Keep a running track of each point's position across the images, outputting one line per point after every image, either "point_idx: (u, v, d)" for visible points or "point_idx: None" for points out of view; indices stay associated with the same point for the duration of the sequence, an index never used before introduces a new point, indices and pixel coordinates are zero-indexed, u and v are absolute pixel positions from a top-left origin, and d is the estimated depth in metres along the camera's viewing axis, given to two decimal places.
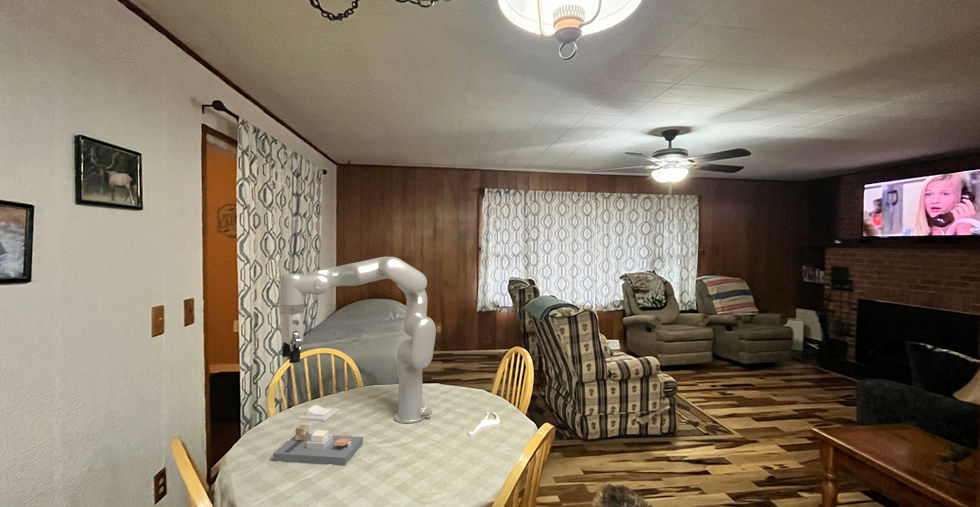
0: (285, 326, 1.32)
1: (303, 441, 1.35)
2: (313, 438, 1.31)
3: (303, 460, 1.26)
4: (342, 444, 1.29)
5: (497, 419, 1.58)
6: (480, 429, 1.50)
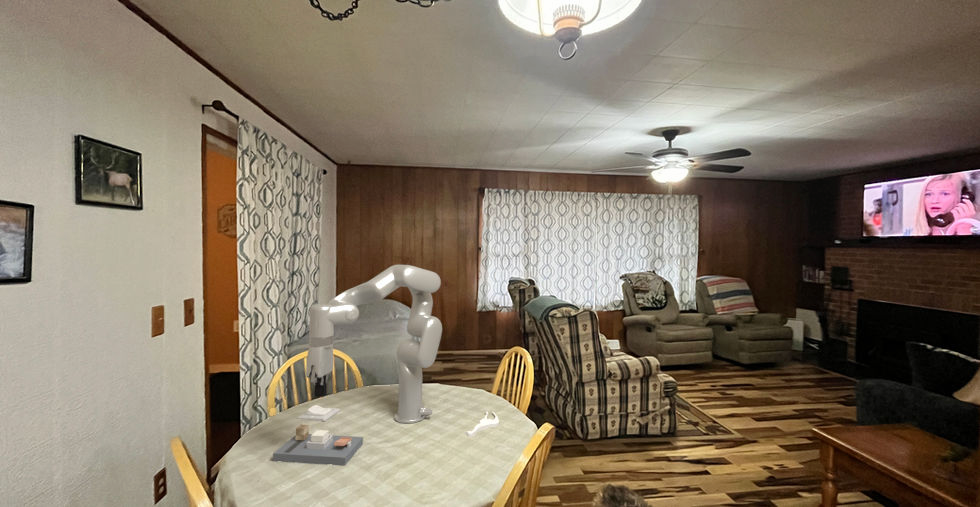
0: (331, 355, 1.34)
1: (303, 441, 1.35)
2: (313, 438, 1.31)
3: (303, 460, 1.26)
4: (342, 444, 1.29)
5: (496, 419, 1.58)
6: (479, 429, 1.50)
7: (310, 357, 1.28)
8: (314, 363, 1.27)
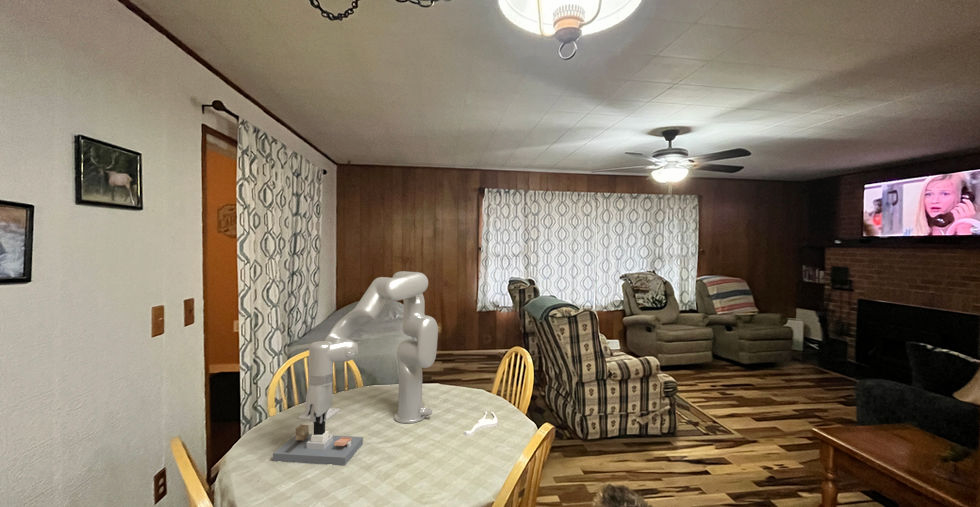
0: (330, 392, 1.34)
1: (303, 441, 1.35)
2: (313, 438, 1.31)
3: (303, 460, 1.26)
4: (342, 444, 1.29)
5: (495, 419, 1.58)
6: (477, 428, 1.50)
7: (309, 396, 1.28)
8: (313, 402, 1.27)
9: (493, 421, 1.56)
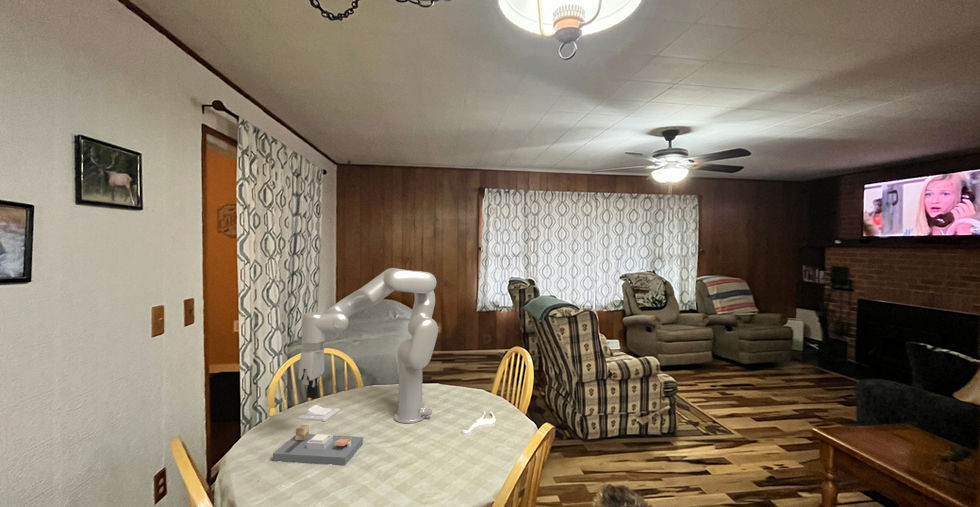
0: (322, 359, 1.44)
1: (303, 441, 1.35)
2: None
3: (303, 460, 1.26)
4: (342, 444, 1.29)
5: (493, 418, 1.58)
6: (475, 428, 1.51)
7: (302, 361, 1.38)
8: (306, 367, 1.37)
9: (491, 421, 1.56)
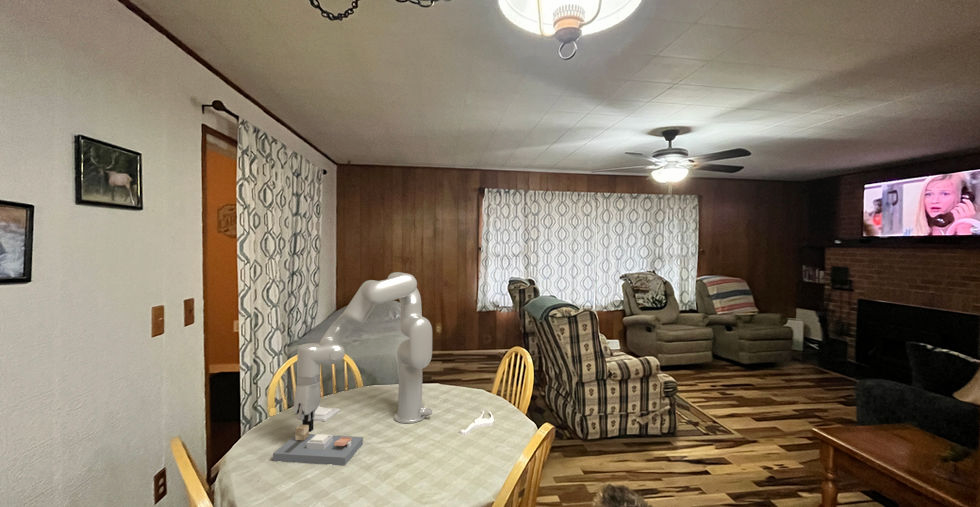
0: (317, 392, 1.42)
1: (303, 441, 1.35)
2: None
3: (303, 460, 1.26)
4: (342, 444, 1.29)
5: (491, 418, 1.58)
6: (473, 428, 1.51)
7: (297, 395, 1.35)
8: (301, 401, 1.35)
9: (489, 420, 1.56)
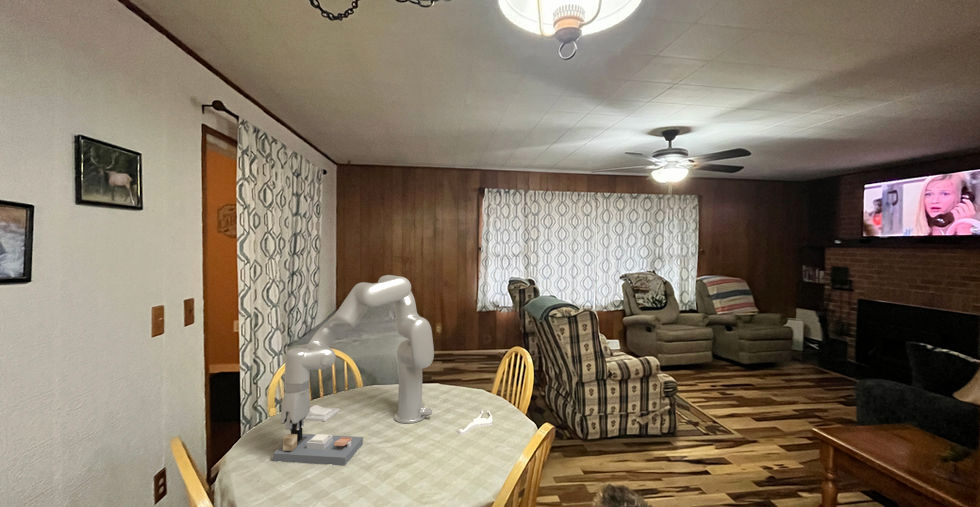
0: (307, 399, 1.35)
1: (303, 441, 1.35)
2: None
3: (303, 460, 1.26)
4: (342, 444, 1.29)
5: (490, 418, 1.59)
6: (471, 427, 1.51)
7: (285, 403, 1.28)
8: (289, 409, 1.28)
9: (488, 420, 1.56)
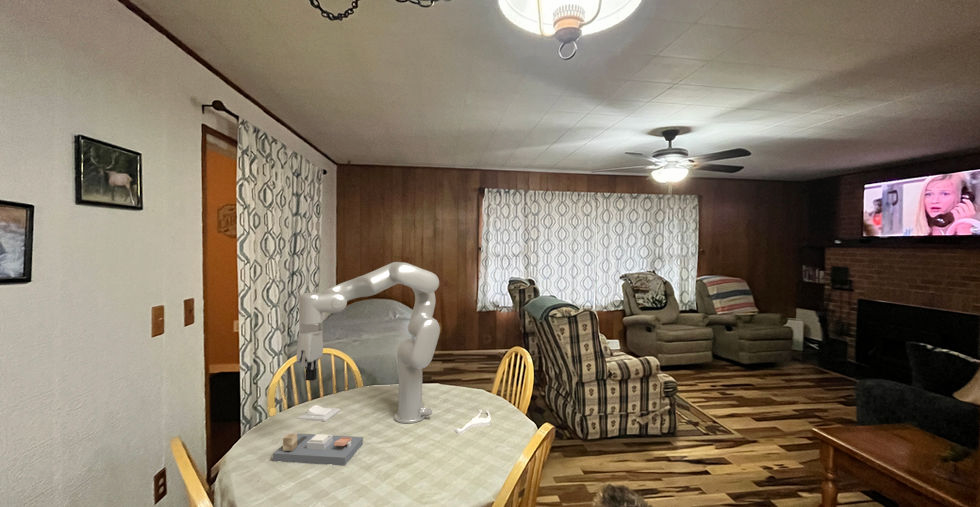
0: (320, 341, 1.41)
1: (303, 441, 1.35)
2: None
3: (303, 460, 1.26)
4: (342, 444, 1.29)
5: (488, 417, 1.59)
6: (469, 427, 1.52)
7: (300, 343, 1.34)
8: (304, 348, 1.34)
9: (486, 420, 1.57)
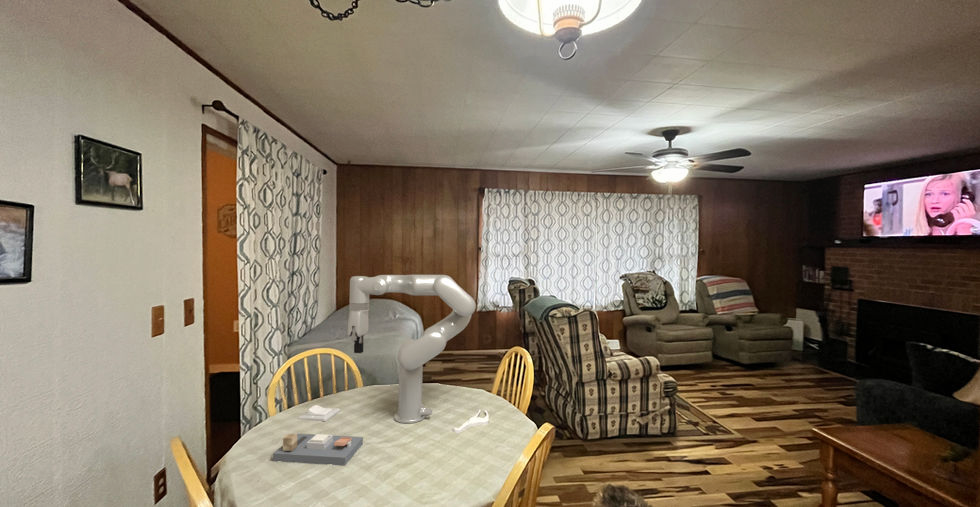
0: (367, 319, 1.60)
1: (303, 441, 1.35)
2: None
3: (303, 460, 1.26)
4: (342, 444, 1.29)
5: (486, 417, 1.59)
6: (467, 426, 1.52)
7: (351, 319, 1.53)
8: (354, 324, 1.53)
9: (484, 419, 1.57)
